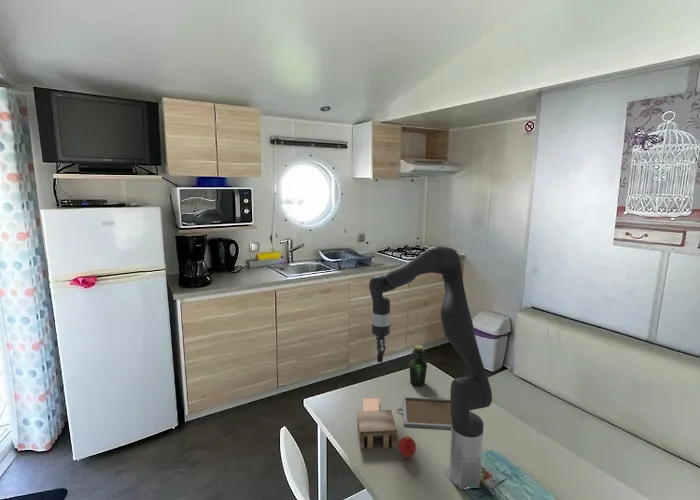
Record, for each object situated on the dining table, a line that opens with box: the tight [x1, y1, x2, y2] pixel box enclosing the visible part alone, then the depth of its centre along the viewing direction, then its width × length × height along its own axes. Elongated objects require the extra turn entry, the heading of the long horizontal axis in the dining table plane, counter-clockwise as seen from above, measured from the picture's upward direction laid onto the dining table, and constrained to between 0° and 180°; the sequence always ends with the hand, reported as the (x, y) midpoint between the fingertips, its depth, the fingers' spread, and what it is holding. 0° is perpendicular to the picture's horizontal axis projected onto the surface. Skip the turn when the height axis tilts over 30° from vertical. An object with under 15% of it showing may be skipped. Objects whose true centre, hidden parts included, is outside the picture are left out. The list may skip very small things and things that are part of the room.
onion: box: [397, 435, 417, 459], centre depth 123 cm, size 6×6×8 cm
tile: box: [362, 398, 380, 411], centre depth 149 cm, size 13×6×2 cm, turn 178°
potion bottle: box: [408, 344, 428, 388], centre depth 170 cm, size 8×8×18 cm
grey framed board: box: [395, 395, 472, 430], centre depth 148 cm, size 19×2×30 cm
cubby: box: [356, 409, 398, 449], centre depth 134 cm, size 12×13×6 cm
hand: (379, 361), depth 154 cm, fingers closed
